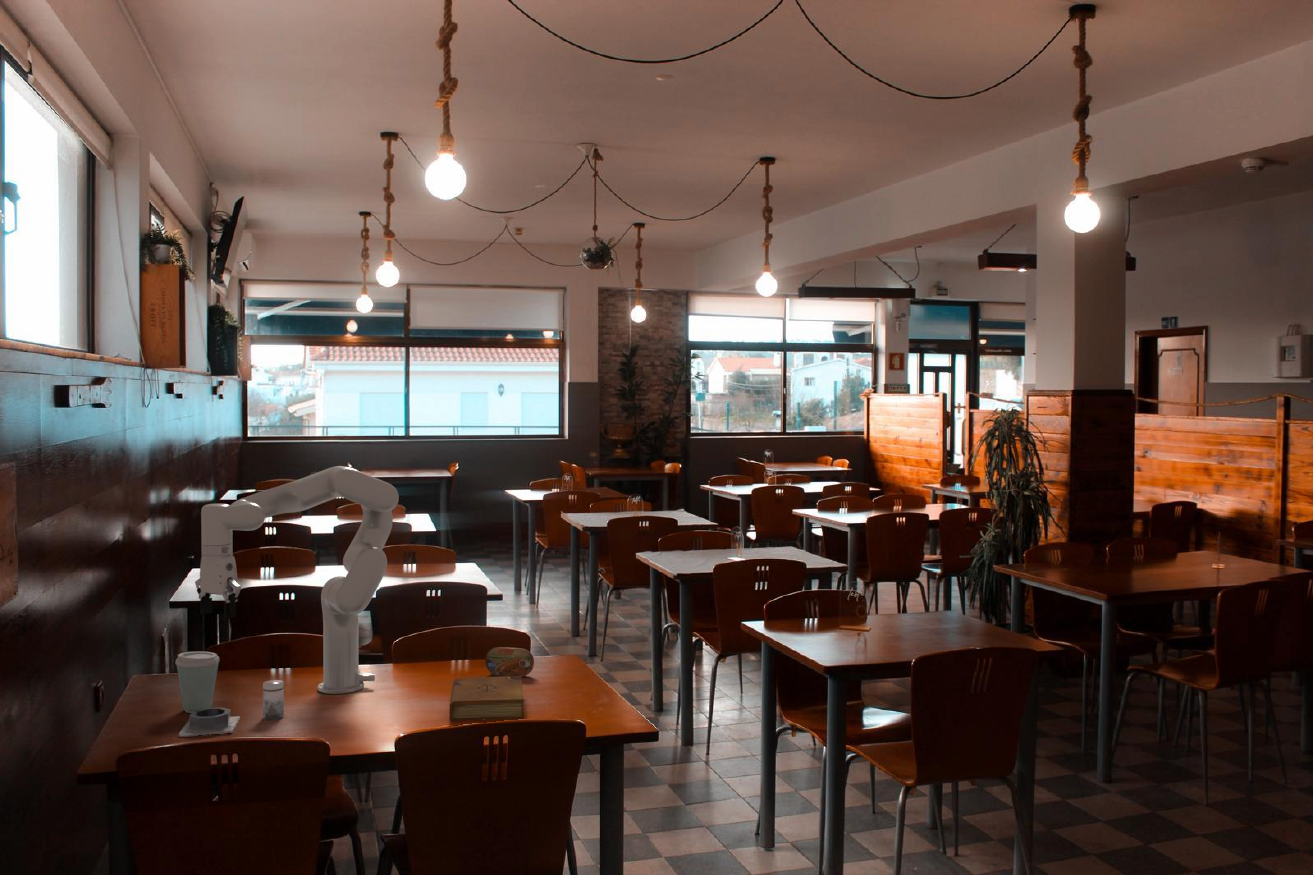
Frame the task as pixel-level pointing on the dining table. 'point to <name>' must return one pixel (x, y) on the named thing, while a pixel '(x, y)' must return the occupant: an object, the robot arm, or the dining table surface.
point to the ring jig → (209, 722)
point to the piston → (273, 700)
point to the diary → (486, 698)
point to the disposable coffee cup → (197, 679)
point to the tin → (509, 661)
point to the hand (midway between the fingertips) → (218, 615)
